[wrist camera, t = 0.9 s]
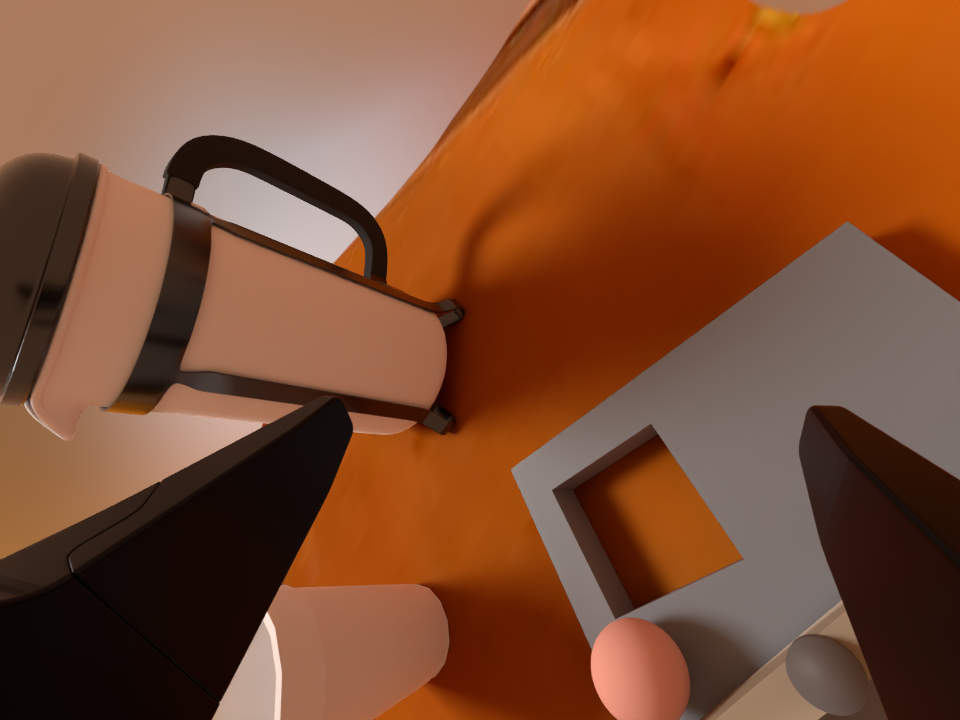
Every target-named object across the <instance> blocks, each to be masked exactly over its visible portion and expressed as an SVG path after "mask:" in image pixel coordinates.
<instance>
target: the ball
mask: <svg viewBox="0 0 960 720" xmlns="http://www.w3.org/2000/svg"><path fill="white" fill-rule="evenodd" d="M591 673H592V678H593V682H594V685H595V688H596V691H597V693H598V695H599V697H600V699H601V701H602V702H603V704H604V705H605V707H606V708H607V709H608V710H609V712H610V713H611V714H612V715H613V716H614V717H615V718H616V719H618V720H679V719H680V718H681V716H682V715H683V713H684V711H685V709H686V707H687V704H688V700H689V696H690V678H689V671H688V668H687V664H686V662H685V659H684V657H683V655H682V653H681V651H680V649H679V648H678V646H677V645H676V643H675V642H674V641H673V639H672V638H671V637H670V636H669V635H668V634H667V633H666V632H665V631H664V630H662V629H661V628H660V627H658V626H657V625H655V624H653V623H651V622H649V621H646V620H643V619H640V618H622V619H619V620H616V621H613V622H612V623H610V624H609V625H607V626H606V627H605V628H604V629H603V630H602V631H601V632H600V634H599V635H598V637H597V639H596V641H595V643H594V646H593V650H592V655H591Z"/></svg>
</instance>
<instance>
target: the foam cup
mask: <svg viewBox="0 0 960 720" xmlns="http://www.w3.org/2000/svg"><path fill="white" fill-rule="evenodd" d="M448 648H449V631H448V620H447V617H446V615H445V612H444V609H443V607H442V604H441V601H440V600H439V599H438V598H437V596H436V595H435V594H434V593H433V592H432V591H431V589H430V588H428V587H425V586H422V585H419V584H414V585H412V584H393V585H363V586H332V587H302V588H292V587H290V586H288V585H281V586H280V588H279V590H278V592H277V594H276V596H275V598H274V600H273V602H272V604H271V606H270V607H269V609H268V611H267V613H266V615H265V617H264V619H263V621H262V623H261V625H260V627H259V629H258V631H257V633H256V635H255V637H254V638H253V640H252V642H251V644H250V646H249V648H248V650H247V652H246V654H245V656H244V658H243V660H242V662H241V664H240V666H239V667H238V669H237V671H236V673H235V675H234V677H233V679H232V681H231V683H230V685H229V687H228V689H227V691H226V693H225V695H224V697H223V698H222V700H221V701H220V702H219V703H220V705H219V707H218V709H217V711H216V713H215V715H214V717H213V719H212V720H374V719H375V718H376V717H378V716H379V715H381V714H382V713H384V712H385V711H387V710H388V709H390V708H391V707H392V706H394V705H395V704H397V703H398V702H400V701H401V700H403V699H404V698H406V697H407V696H408V695H410V694H411V693H413V692H414V691H416V690H417V689H419V688H420V687H422V686H423V685H425V684H426V683H427V682H429V681H430V680H431V678H434V677H436V675H437V674H438V672H439V671H440V670H441V668H442V667H443V666H444V664H445V661H446V657H447V652H448Z"/></svg>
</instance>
